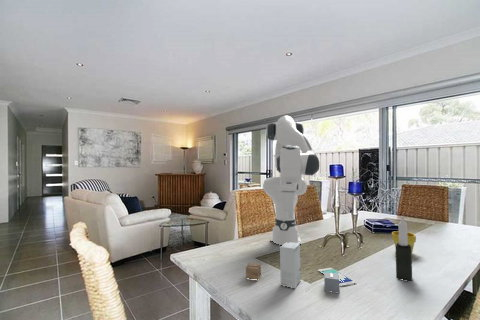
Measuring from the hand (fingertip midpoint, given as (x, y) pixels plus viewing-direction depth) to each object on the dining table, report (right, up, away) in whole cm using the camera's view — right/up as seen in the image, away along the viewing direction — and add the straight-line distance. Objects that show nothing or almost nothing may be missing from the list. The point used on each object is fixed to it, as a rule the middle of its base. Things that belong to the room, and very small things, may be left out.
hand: (291, 217), depth 101 cm
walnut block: (-16, -25, -1) cm, 29 cm away
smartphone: (+18, -25, -1) cm, 31 cm away
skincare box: (-1, -24, -6) cm, 25 cm away
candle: (+45, -24, -3) cm, 51 cm away
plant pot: (+64, -25, +25) cm, 73 cm away
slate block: (+13, -24, -11) cm, 29 cm away
